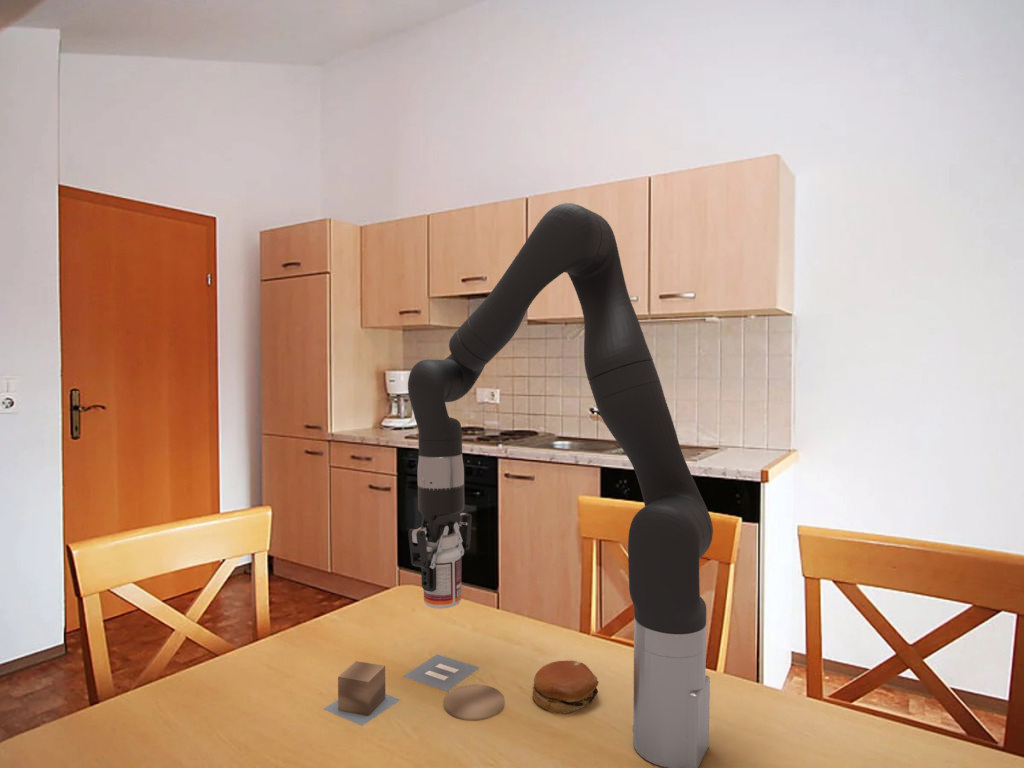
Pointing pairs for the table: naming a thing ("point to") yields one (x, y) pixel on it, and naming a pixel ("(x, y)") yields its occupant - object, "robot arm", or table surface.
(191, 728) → the table surface
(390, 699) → the code tile
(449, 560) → the pill bottle
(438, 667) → the code tile
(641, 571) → the robot arm
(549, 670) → the burger
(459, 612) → the table surface
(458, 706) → the coaster
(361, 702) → the walnut block
